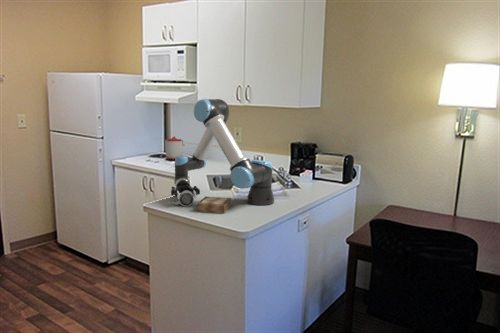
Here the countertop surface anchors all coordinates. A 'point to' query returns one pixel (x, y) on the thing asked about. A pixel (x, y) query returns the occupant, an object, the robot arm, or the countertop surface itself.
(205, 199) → the block
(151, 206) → the countertop surface
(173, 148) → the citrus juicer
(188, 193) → the ceramic mug
